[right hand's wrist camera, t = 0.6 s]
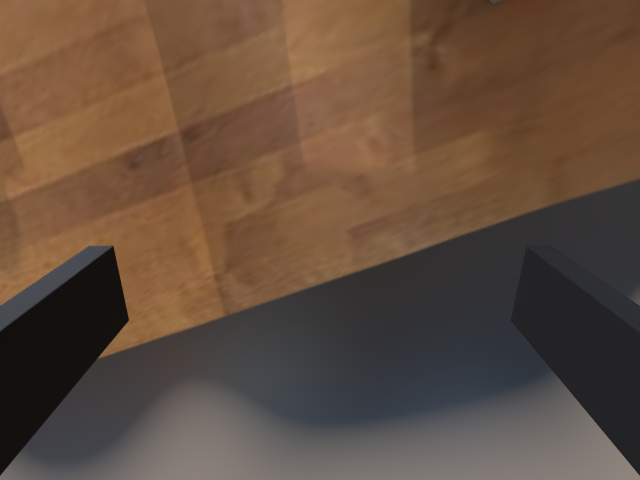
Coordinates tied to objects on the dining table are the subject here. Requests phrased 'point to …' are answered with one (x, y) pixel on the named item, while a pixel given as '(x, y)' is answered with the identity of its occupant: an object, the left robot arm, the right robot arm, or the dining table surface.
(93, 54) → the dining table surface
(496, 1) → the hard drive box
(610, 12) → the dining table surface
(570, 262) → the right robot arm
